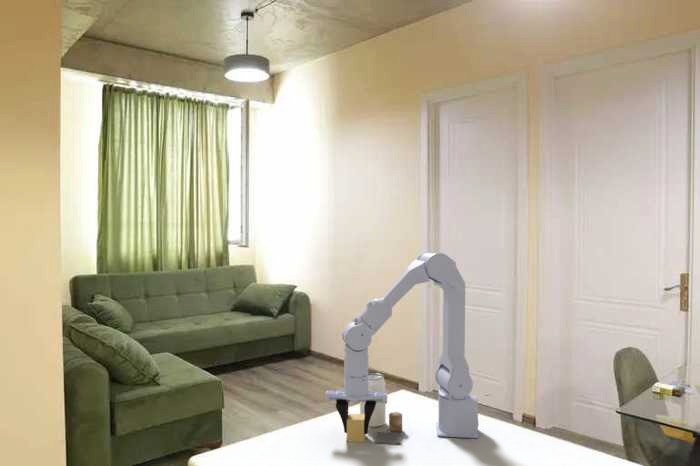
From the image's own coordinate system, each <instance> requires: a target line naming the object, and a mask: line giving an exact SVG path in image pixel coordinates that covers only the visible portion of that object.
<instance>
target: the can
mask: <svg viewBox="0 0 700 466" xmlns="http://www.w3.org/2000/svg"><path fill="white" fill-rule="evenodd" d="M384 377H385V376H384V375H383V374H382V373H376V372H374V373H373V372H370V373H369V372H368V391H373V392H380V393H386V380H385V378H384ZM365 403H366V402H359V414H365V412H364V406H365ZM385 424H386V404H383V403H379V402H376V406H375V409H374V411H373V413H372V416H371V418H370V421H369V426H368V428H380V427H383V426H384V425H385Z"/></svg>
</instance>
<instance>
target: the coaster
mask: <svg viewBox="0 0 700 466" xmlns="http://www.w3.org/2000/svg"><path fill="white" fill-rule="evenodd" d="M401 442H402V432H401V433H395V432H390V431H376V433H375V438H374V444H385V445H401V444H402V443H401Z"/></svg>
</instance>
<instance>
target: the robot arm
mask: <svg viewBox="0 0 700 466" xmlns="http://www.w3.org/2000/svg"><path fill="white" fill-rule="evenodd" d="M430 280H431V281H433V282H434V283H435V284H436V285H437V286H438V287H439V288H440V289H441V290H442V292H443V294H442V295H443V297H442V298H443V300H442V301H443V303H442V354H441V356H440V358H439V360H438V367H437V369H436V370H435V371H436V372H435V374H434V376H435V381H436V384H438V386H439V388H438V389H439V390H438V421H437V422H436V435H437V436H438V437H447V438H449V437H450V438H467V439H478V438H479V407H478V406H479V404H478V397H477V396H476V395H471V392H472V390H473V388H474V387H473V379H472V377H471V376H470V367H469V364H468V362H467V359H466V357H465V351H466V350H465V347H466V346H465V345H466V343H465V342H466V341H465V340H466V339H465V337H466V336H465V335H466V329H465V328H466V281H465V280H464V277H463V276H462V275H461V273H460V271H459V269H458V268H457V263H456V261H455V260H454V259H452V258H451V257H450V256H449V255H447V254H445V253H443V252H433V251H423V252H422V253H421V254H419V255H418V257H417V258H416V259H414V260H413V261H412V262H411V263H410V264H409V265H408V267H407V268H406V269H405V270H404V272H403V273H402V274H401V275H400V276H399V277H398V278H397V280H396V281H395V282H394V283H393V284H392V285H391V287H390V288H389V289H388V290H387V291H386V293H385V294H384V295H383V296H382V297H380V298H374V299H372V301H370V300H368V301H367V302H366V303H365V306H366V307H365V308H364V310H363V311H362V312H360V313H359V314H358V316H357V317H356V316H354V317H353V318H352V322H349V323H348V324H347V325H346V326H345V327H344V328H343V332H342V333H341V337H342V340H343V342H344V343H345V344H344V356H343V364H344V365H343V370H344V371H343V374H344V375H343V381H344V382H343V386H344V387H343V389H342V390H341V389H340V390H339V389H338V390H326V392H324V393H325V394H324V395H325V396H324V399H325V402H330V401H332V402H333V401H336V402H335V408H336V410H337V411H338V415H339V416H340V419H341V423H342V425H343V431H344V434H347V418H348V415H349V403H350V402H355V403H358V402H359V403H360V402H366V403H365V406H364V412H365V425H364V434H366V435H367V434H368V433H369V427H368V426H369V421H370V418H371V416H372V413H373V411H374V409H375V406H376V402H379V403H383V404H385V405H387V404H388V393H387V392H385V393H380V392H373V391H368V373H369V352H368V350H369V348H368V347H369V346H370V345H371V343H372V337H373V336H374V335H375V334H377V333H378V331H379V330H380V329H381V328H382V327H383V326H384V325H385V323H386V322H388V320H390V319H391V317H392V316H393V308H394V307H395V305H396V304H397V303H399V302H400V300H401V299H403V297H405V295H407V294H408V293H409V291H410V290H412V289H413V288H414V286H416V285H420V284H424V283H428V282H429V283H430Z"/></svg>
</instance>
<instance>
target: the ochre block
mask: <svg viewBox="0 0 700 466" xmlns="http://www.w3.org/2000/svg"><path fill="white" fill-rule="evenodd" d="M364 425H365V414H360V413H348V418H347V433H346V442H358V443H359V442H361V443H363V442H364V443H365V438H366V435H367V434H364Z"/></svg>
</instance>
